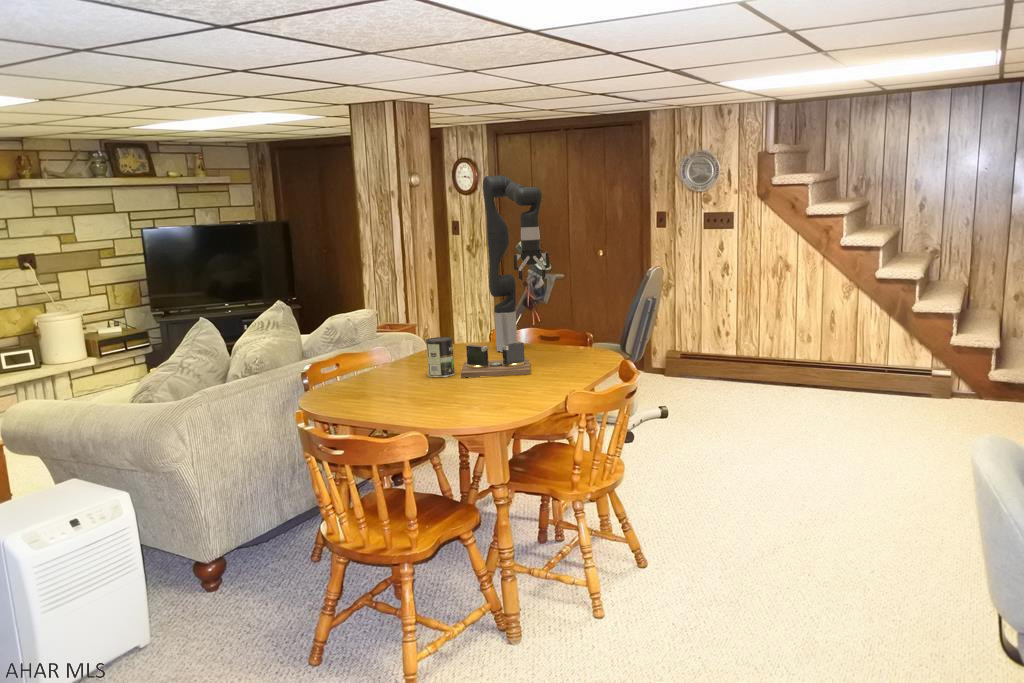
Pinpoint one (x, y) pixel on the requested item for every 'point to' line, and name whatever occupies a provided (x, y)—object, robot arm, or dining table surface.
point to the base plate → (496, 369)
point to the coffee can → (440, 357)
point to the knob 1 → (477, 356)
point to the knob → (513, 354)
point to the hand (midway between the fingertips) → (532, 279)
